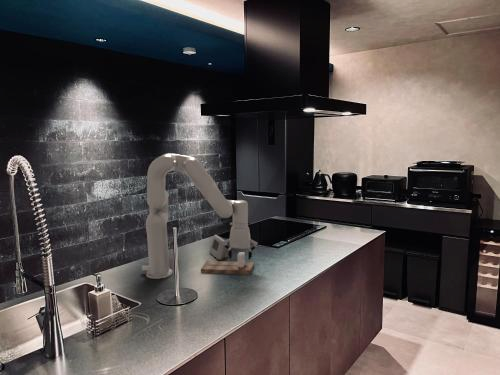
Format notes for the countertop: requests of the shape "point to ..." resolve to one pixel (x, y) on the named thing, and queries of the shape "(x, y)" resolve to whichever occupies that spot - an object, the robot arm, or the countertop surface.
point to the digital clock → (218, 248)
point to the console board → (227, 267)
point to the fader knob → (241, 259)
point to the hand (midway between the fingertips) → (240, 258)
